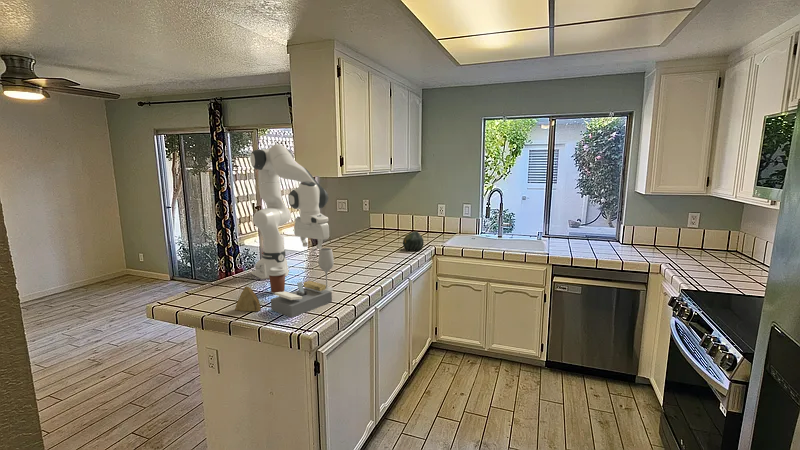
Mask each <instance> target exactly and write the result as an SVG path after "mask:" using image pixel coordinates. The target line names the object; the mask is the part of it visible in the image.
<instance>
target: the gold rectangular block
mask: <svg viewBox="0 0 800 450" xmlns="http://www.w3.org/2000/svg"><path fill="white" fill-rule="evenodd" d="M306 287H307V288H310V289H314V290H317V291H322V290H325V289H326V284H324V283H319V282H316V281H313V280H312V281H311V280H307V281H304V282H303V288H306Z"/></svg>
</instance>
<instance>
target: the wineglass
mask: <svg viewBox="0 0 800 450" xmlns="http://www.w3.org/2000/svg"><path fill="white" fill-rule="evenodd" d="M317 261H318V267H319V269H321V270H322V271H323V272H324V273H325V285H326V289H325V290H327V291H331V292H333V291H334V290H335V288H334V287H331V286H328V272H330V270H331V269H333V267H334V263H335V262H334V261H335V260H334V254H333V249H332V248H330V247H325V248H323V247H322V248H321V249H319V252H318V260H317Z"/></svg>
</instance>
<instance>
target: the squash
mask: <svg viewBox="0 0 800 450" xmlns="http://www.w3.org/2000/svg"><path fill="white" fill-rule="evenodd" d="M424 245H425V244H424V238H423V237H422V235H421V234H420V232H418V231H412V232H410V233H408V234H407V235H405V236H404V238H403V239H402V247H403V248H404V249H405V250H407V251H420V250H422V249H423V247H424Z"/></svg>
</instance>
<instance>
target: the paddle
mask: <svg viewBox="0 0 800 450" xmlns="http://www.w3.org/2000/svg"><path fill="white" fill-rule="evenodd" d="M296 284H297V289H298V290H299V292H300V293H301V295H304V294H305V292H304V290H303V288H304V285H303V282H302V281H299V282H297V283H296Z"/></svg>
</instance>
